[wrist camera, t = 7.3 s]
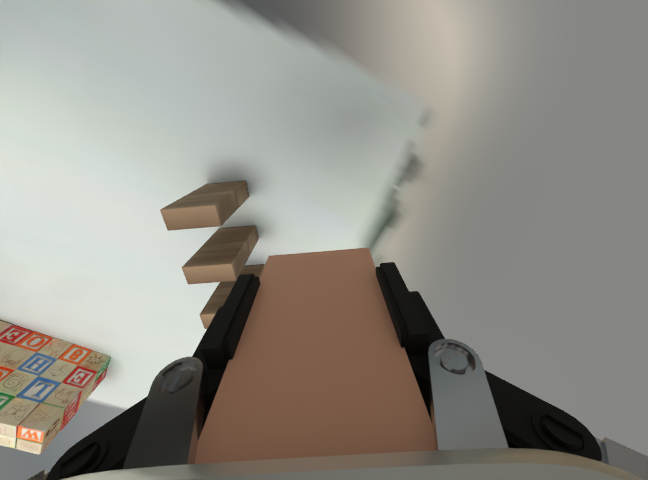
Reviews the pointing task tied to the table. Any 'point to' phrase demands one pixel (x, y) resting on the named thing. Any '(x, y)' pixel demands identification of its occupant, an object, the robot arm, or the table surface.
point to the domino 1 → (205, 206)
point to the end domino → (316, 369)
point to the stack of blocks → (42, 385)
